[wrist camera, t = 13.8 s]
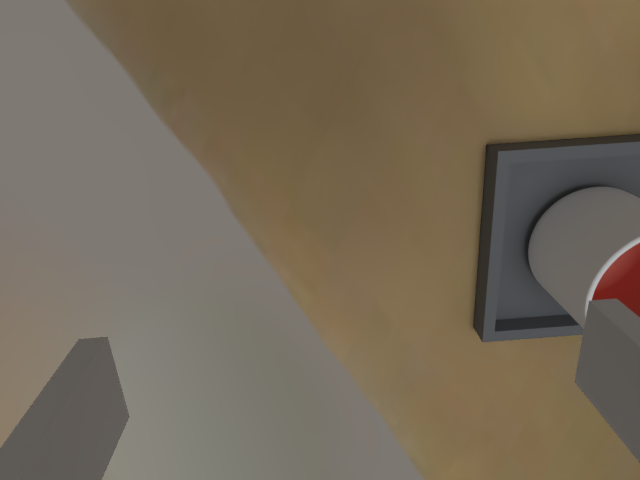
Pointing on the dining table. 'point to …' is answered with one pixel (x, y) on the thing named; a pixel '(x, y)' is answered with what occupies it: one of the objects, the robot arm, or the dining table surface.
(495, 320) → the tray
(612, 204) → the cup
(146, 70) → the dining table surface
